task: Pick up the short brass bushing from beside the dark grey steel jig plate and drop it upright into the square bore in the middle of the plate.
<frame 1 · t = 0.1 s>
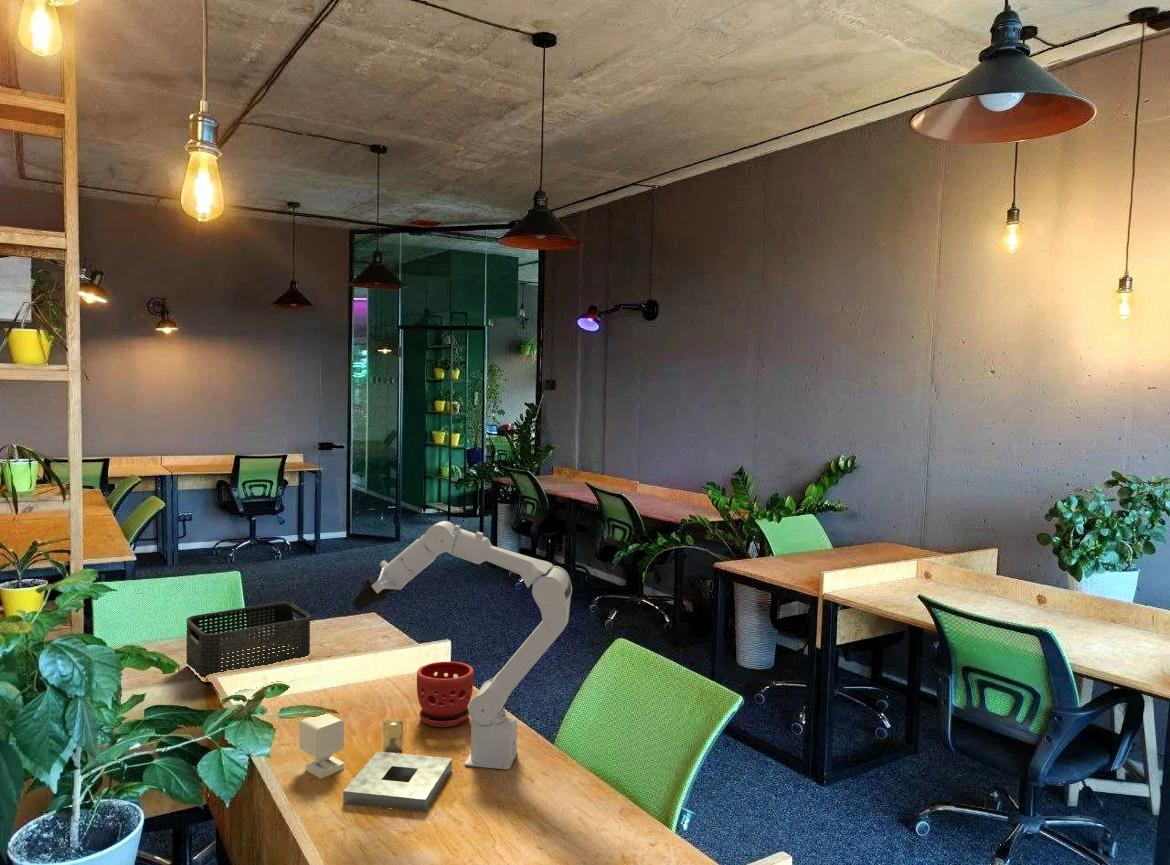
hand: (363, 601, 171), 32 cm above the table, tool tilted 50°, fingers open, 7 cm apart
brass bushing: (392, 750, 172), on the table
jig plate: (399, 786, 157), on the table
plant pot: (444, 719, 188), on the table
security camera: (322, 768, 164), on the table
storage bin: (249, 664, 220), on the table
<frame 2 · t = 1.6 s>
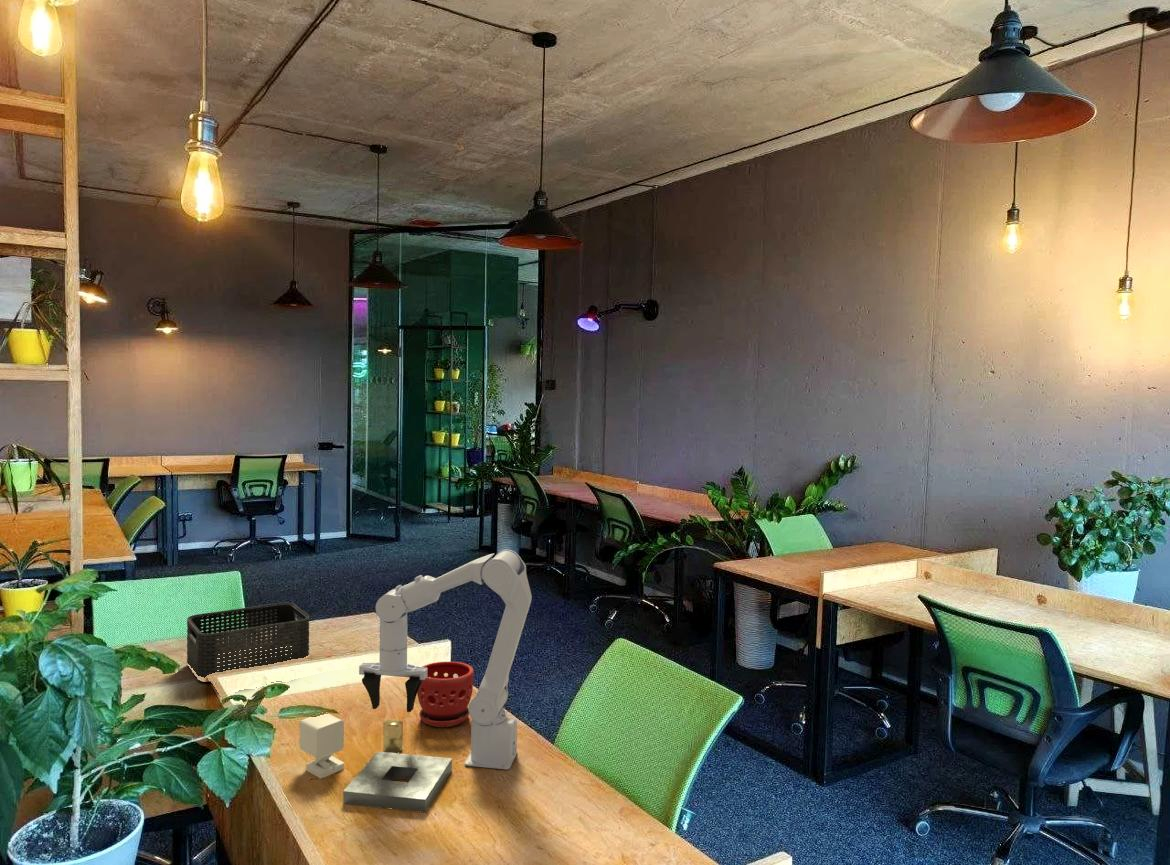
hand: (393, 708, 171), 9 cm above the table, tool pointing down, fingers open, 7 cm apart
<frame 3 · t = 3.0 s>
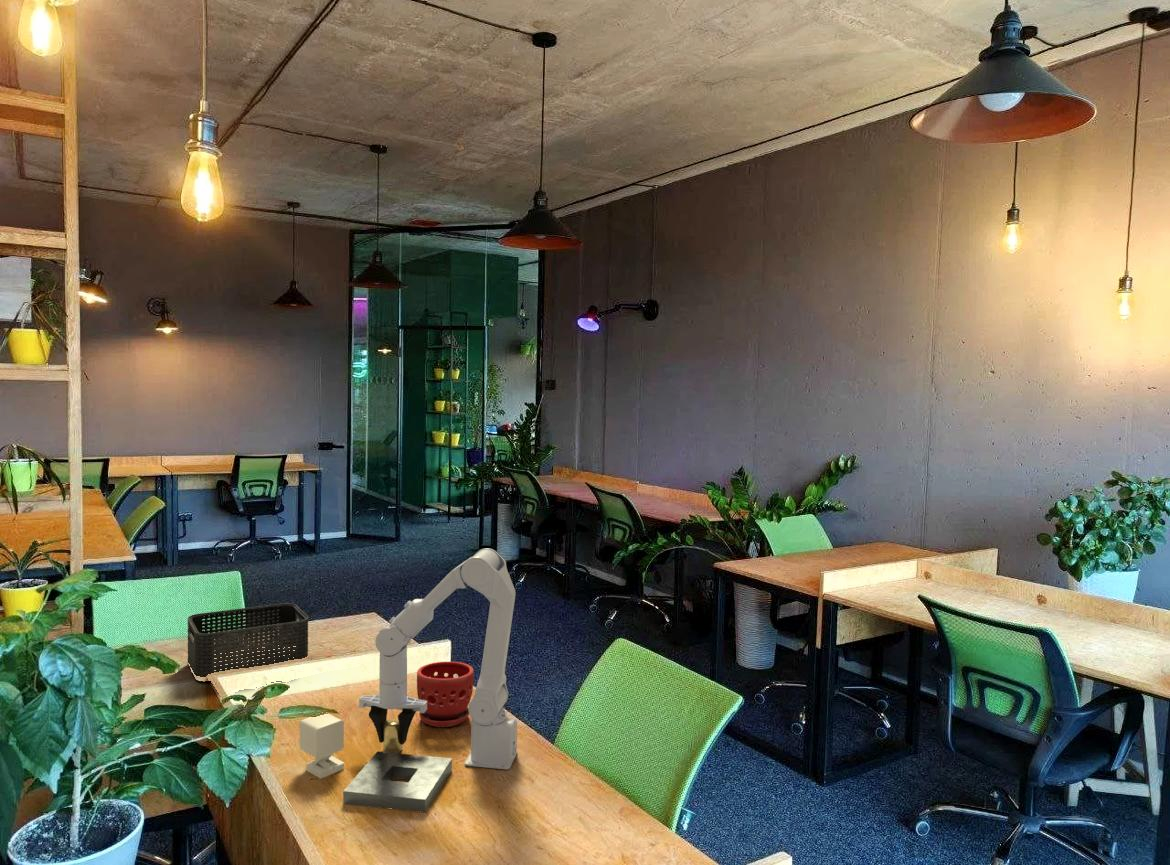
hand: (392, 741, 172), 2 cm above the table, tool pointing down, fingers closed on brass bushing, 4 cm apart
brass bushing: (392, 750, 172), on the table, touching gripper
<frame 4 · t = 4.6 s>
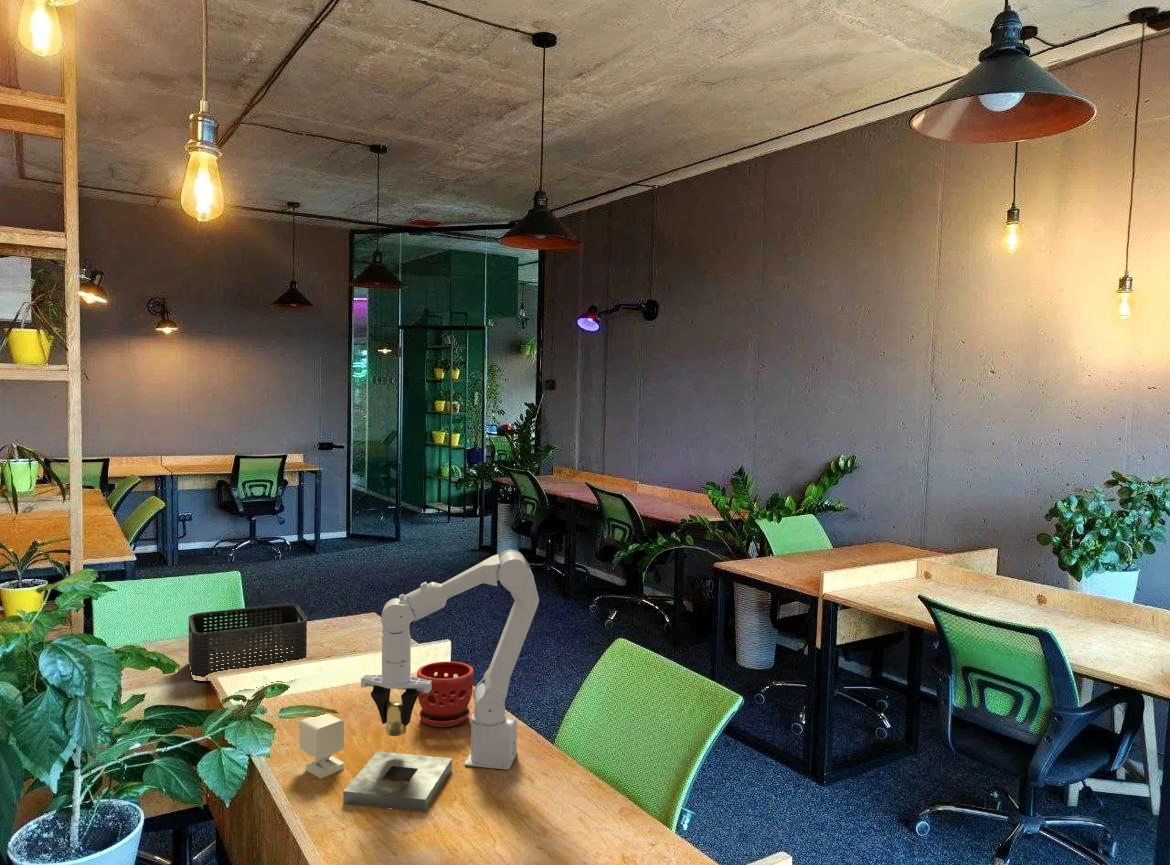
hand: (396, 722, 165), 9 cm above the table, tool pointing down, fingers closed on brass bushing, 4 cm apart
brass bushing: (396, 731, 166), point 7 cm above the table, touching gripper
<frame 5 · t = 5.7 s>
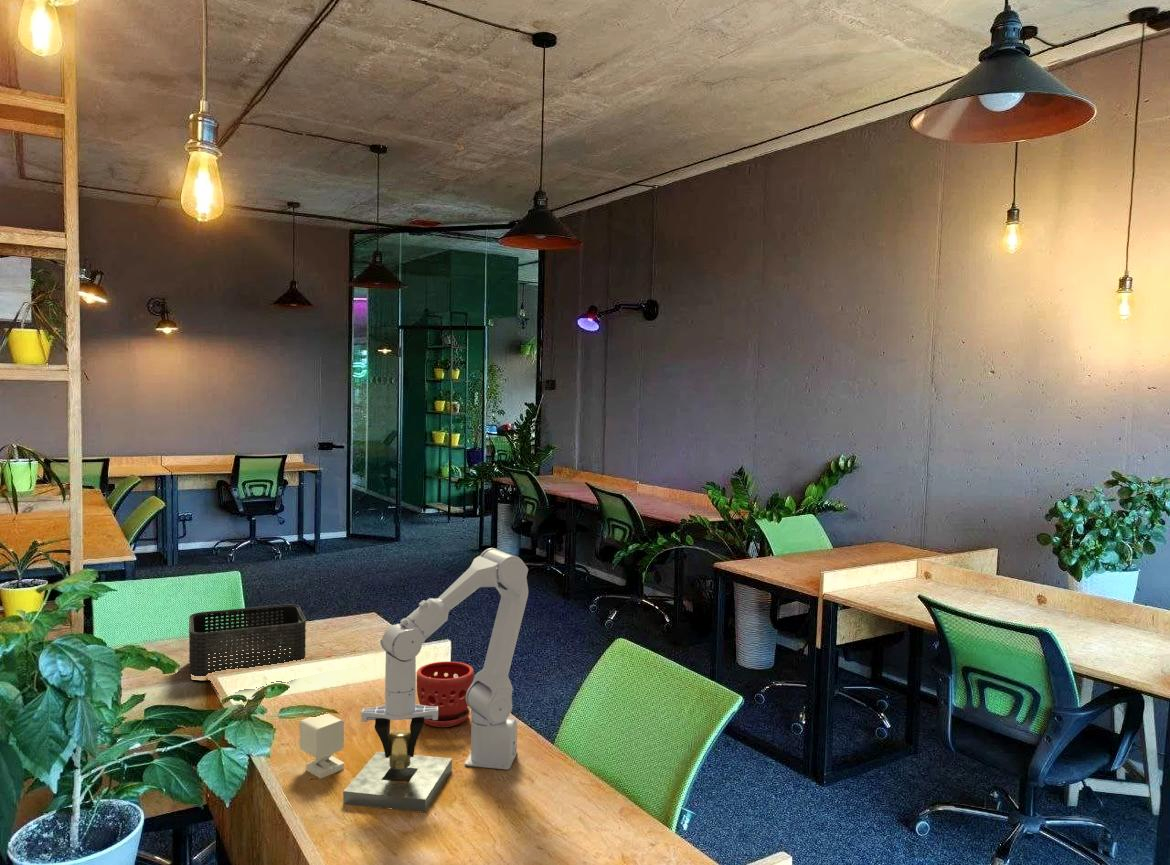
hand: (399, 755, 157), 6 cm above the table, tool pointing down, fingers closed on brass bushing, 4 cm apart
brass bushing: (399, 764, 157), point 4 cm above the table, touching gripper
when the fingers open (3 cm above the table, at t = 6.6 s): brass bushing drops 1 cm, resting in jig plate.
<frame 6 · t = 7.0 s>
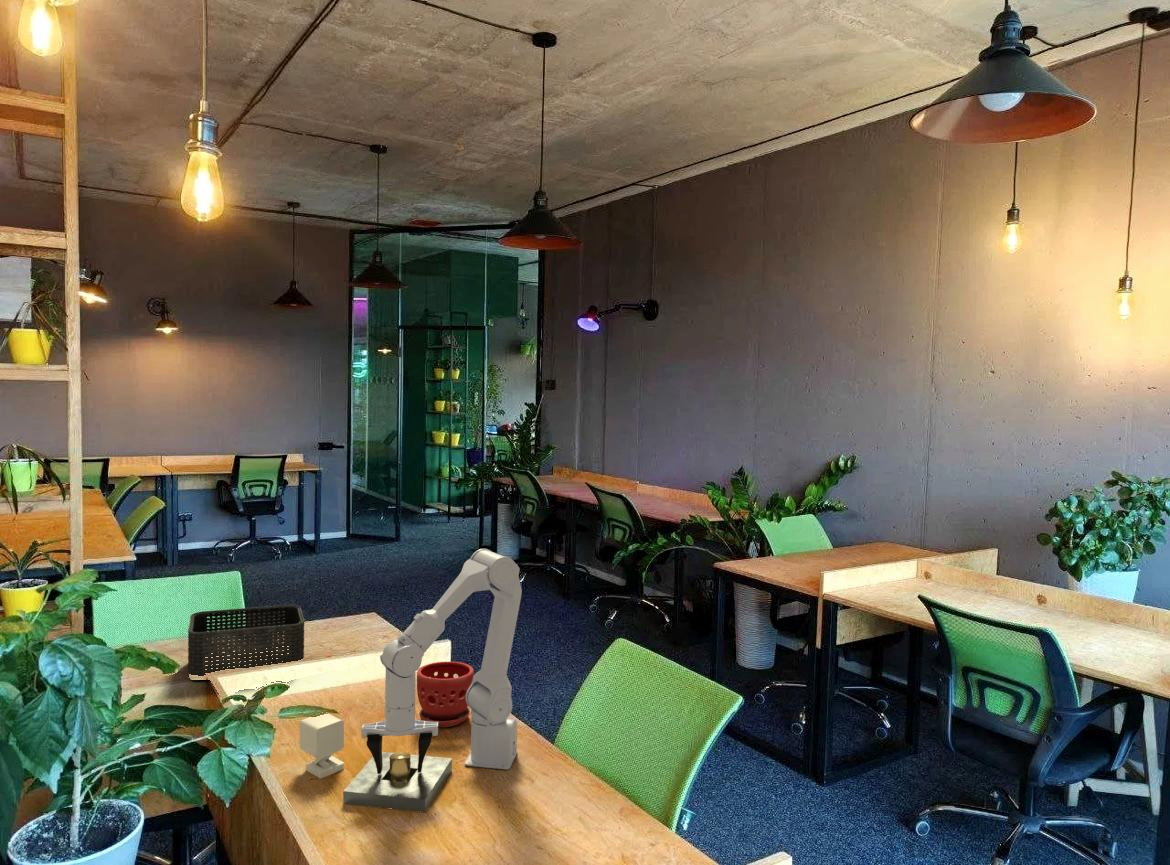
hand: (399, 770, 157), 3 cm above the table, tool pointing down, fingers open, 7 cm apart
brass bushing: (400, 786, 158), resting in jig plate
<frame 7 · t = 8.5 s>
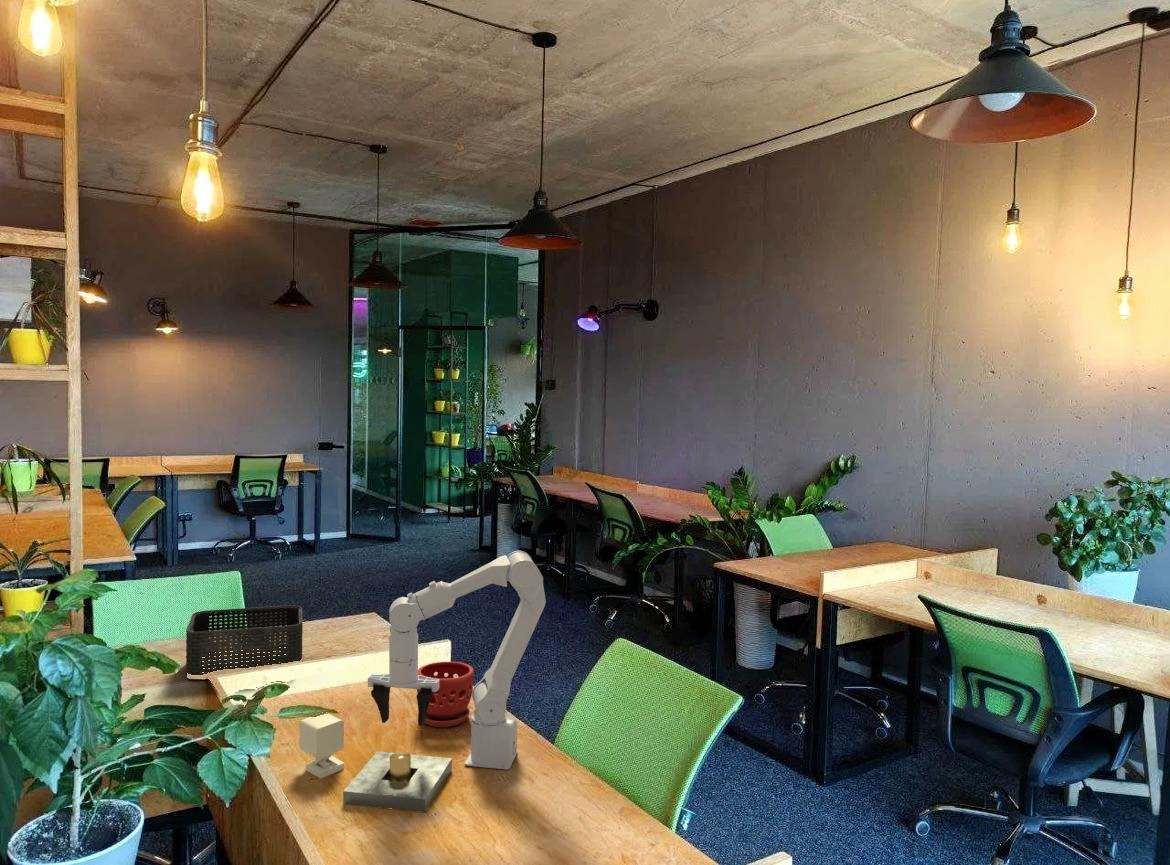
hand: (403, 722, 165), 9 cm above the table, tool pointing down, fingers open, 7 cm apart
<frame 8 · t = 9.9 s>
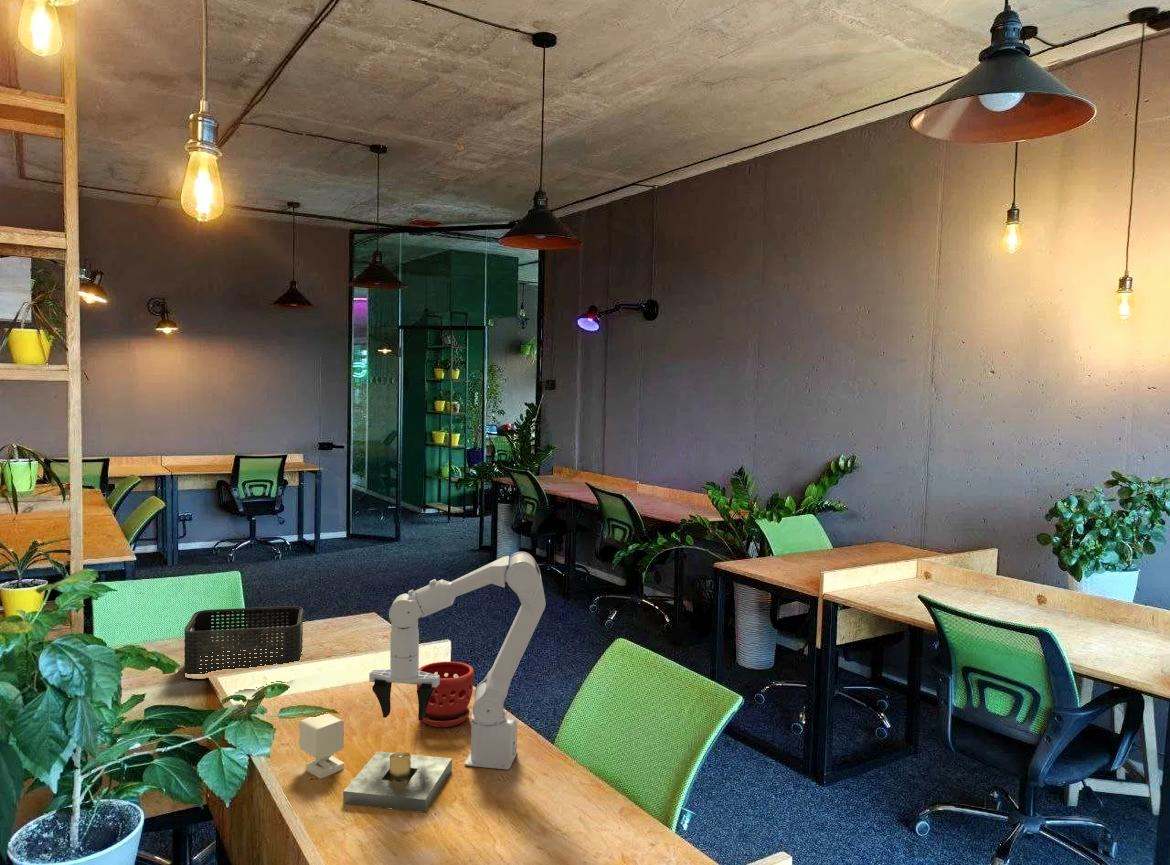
hand: (404, 717, 167), 9 cm above the table, tool pointing down, fingers open, 7 cm apart
at the end: brass bushing 0.1 cm off-centre on the jig plate, point 0.0 cm above the jig plate's base; brass bushing tilted 0°; the gripper is holding nothing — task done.
